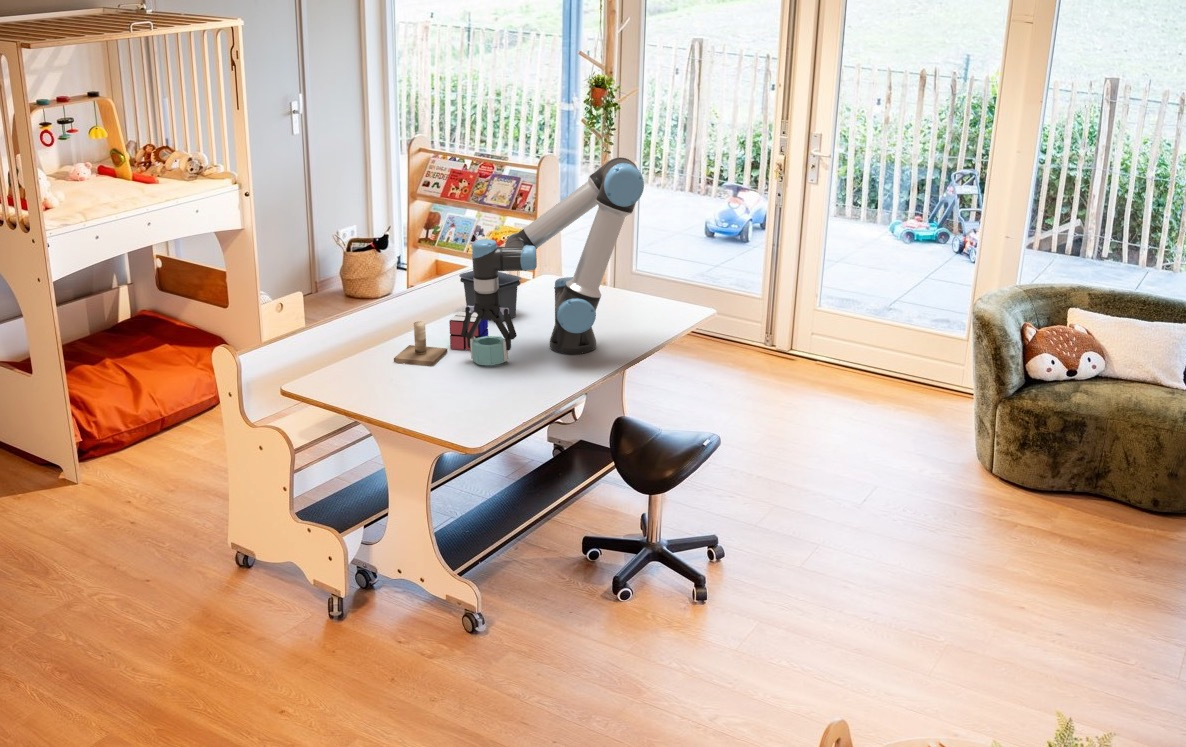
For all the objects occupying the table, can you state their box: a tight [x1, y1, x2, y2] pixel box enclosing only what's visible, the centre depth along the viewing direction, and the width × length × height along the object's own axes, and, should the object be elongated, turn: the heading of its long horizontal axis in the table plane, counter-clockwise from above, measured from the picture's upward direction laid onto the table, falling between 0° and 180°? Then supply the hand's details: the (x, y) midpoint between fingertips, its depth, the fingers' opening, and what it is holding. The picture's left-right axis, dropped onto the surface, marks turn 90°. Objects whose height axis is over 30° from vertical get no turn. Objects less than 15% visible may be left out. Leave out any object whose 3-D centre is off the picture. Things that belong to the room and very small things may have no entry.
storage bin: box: [458, 270, 522, 322], centre depth 412 cm, size 21×16×14 cm
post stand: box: [393, 320, 449, 367], centre depth 370 cm, size 13×13×12 cm
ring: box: [472, 335, 505, 366], centre depth 367 cm, size 10×10×6 cm
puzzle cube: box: [449, 311, 489, 352], centre depth 382 cm, size 10×10×10 cm
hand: (490, 358), depth 368 cm, fingers closed on ring, 10 cm apart
